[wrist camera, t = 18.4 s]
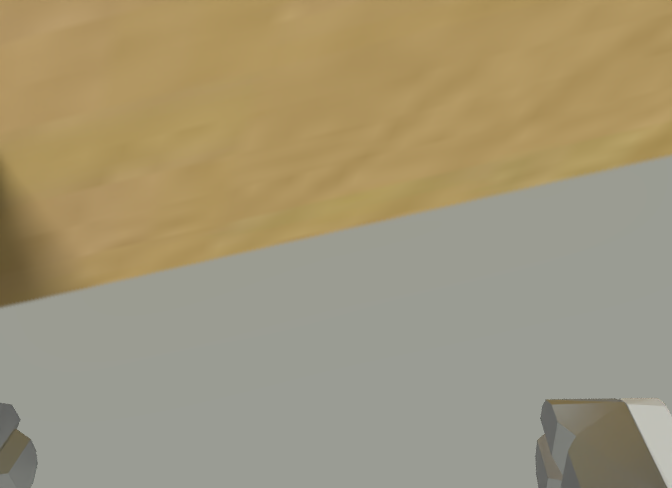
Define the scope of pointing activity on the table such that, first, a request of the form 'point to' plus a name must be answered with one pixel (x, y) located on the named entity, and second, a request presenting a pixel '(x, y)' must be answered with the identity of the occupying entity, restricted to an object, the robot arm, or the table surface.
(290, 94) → the table surface
